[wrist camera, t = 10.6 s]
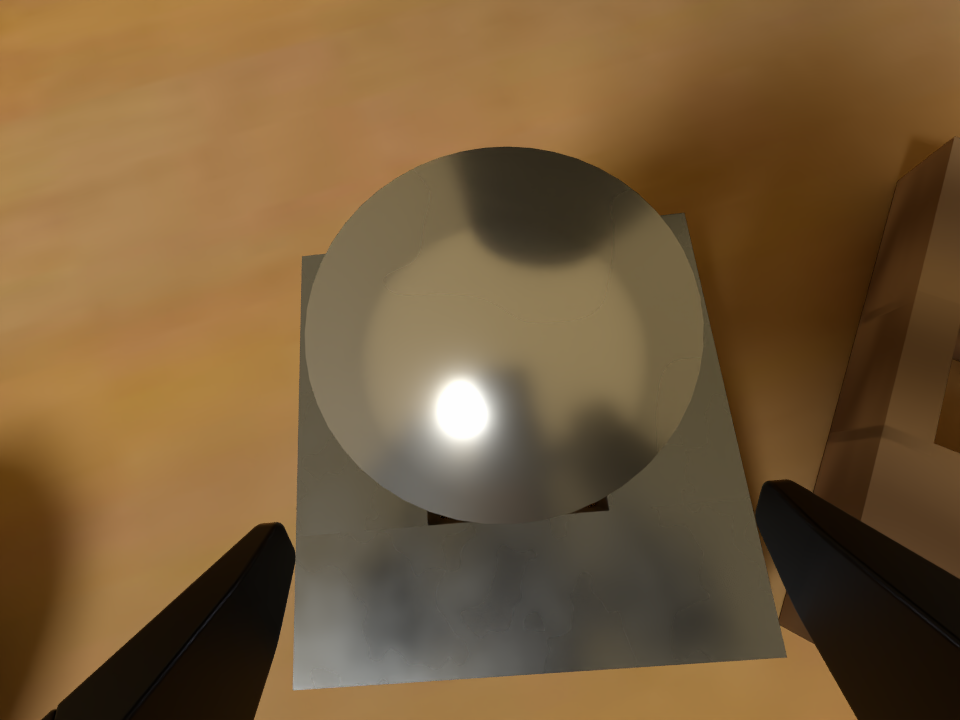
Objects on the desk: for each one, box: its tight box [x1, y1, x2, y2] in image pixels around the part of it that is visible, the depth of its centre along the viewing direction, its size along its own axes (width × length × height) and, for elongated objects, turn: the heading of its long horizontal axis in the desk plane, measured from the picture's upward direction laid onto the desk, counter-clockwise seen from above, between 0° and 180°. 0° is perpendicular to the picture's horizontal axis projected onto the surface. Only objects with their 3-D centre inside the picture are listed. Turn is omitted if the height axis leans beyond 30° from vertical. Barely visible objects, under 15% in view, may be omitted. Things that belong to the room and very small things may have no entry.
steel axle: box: [305, 147, 704, 524], centre depth 11 cm, size 4×4×13 cm
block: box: [293, 213, 787, 690], centre depth 16 cm, size 14×14×2 cm
